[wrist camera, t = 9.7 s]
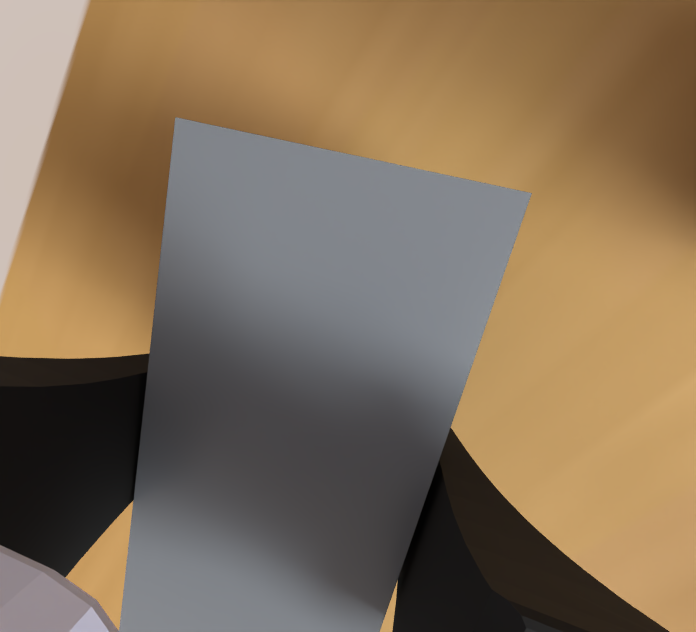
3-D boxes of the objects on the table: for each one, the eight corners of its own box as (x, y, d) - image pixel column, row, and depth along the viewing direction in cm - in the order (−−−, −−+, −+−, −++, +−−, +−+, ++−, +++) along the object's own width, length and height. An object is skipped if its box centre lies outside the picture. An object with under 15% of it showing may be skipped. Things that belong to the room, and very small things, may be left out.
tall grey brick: (475, 221, 11) (531, 193, 5) (372, 548, 14) (335, 756, 8) (295, 179, 12) (175, 117, 6) (234, 495, 15) (117, 649, 9)
